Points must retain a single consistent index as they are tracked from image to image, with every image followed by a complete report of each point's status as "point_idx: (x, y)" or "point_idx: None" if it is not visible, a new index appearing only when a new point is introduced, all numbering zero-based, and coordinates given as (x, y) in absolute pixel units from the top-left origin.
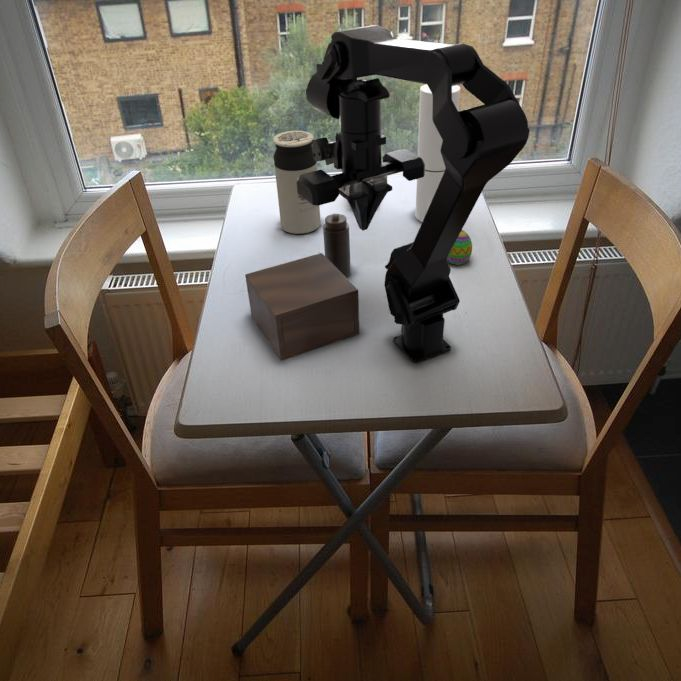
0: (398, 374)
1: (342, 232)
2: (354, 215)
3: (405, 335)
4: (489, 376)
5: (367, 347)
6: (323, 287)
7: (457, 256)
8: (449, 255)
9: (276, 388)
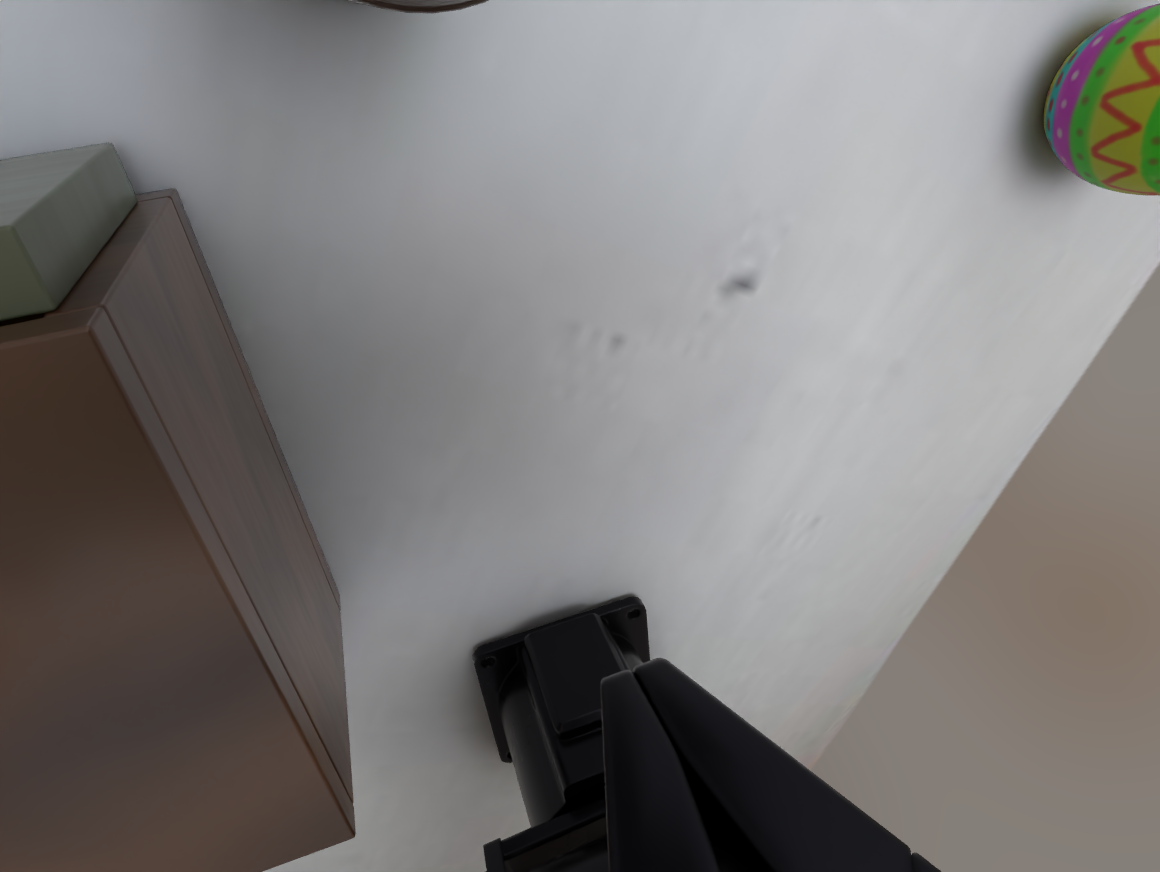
0: (427, 788)
1: (454, 9)
2: (610, 862)
3: (514, 766)
4: None
5: (353, 672)
6: (88, 836)
7: (1093, 180)
8: (1077, 140)
9: None
